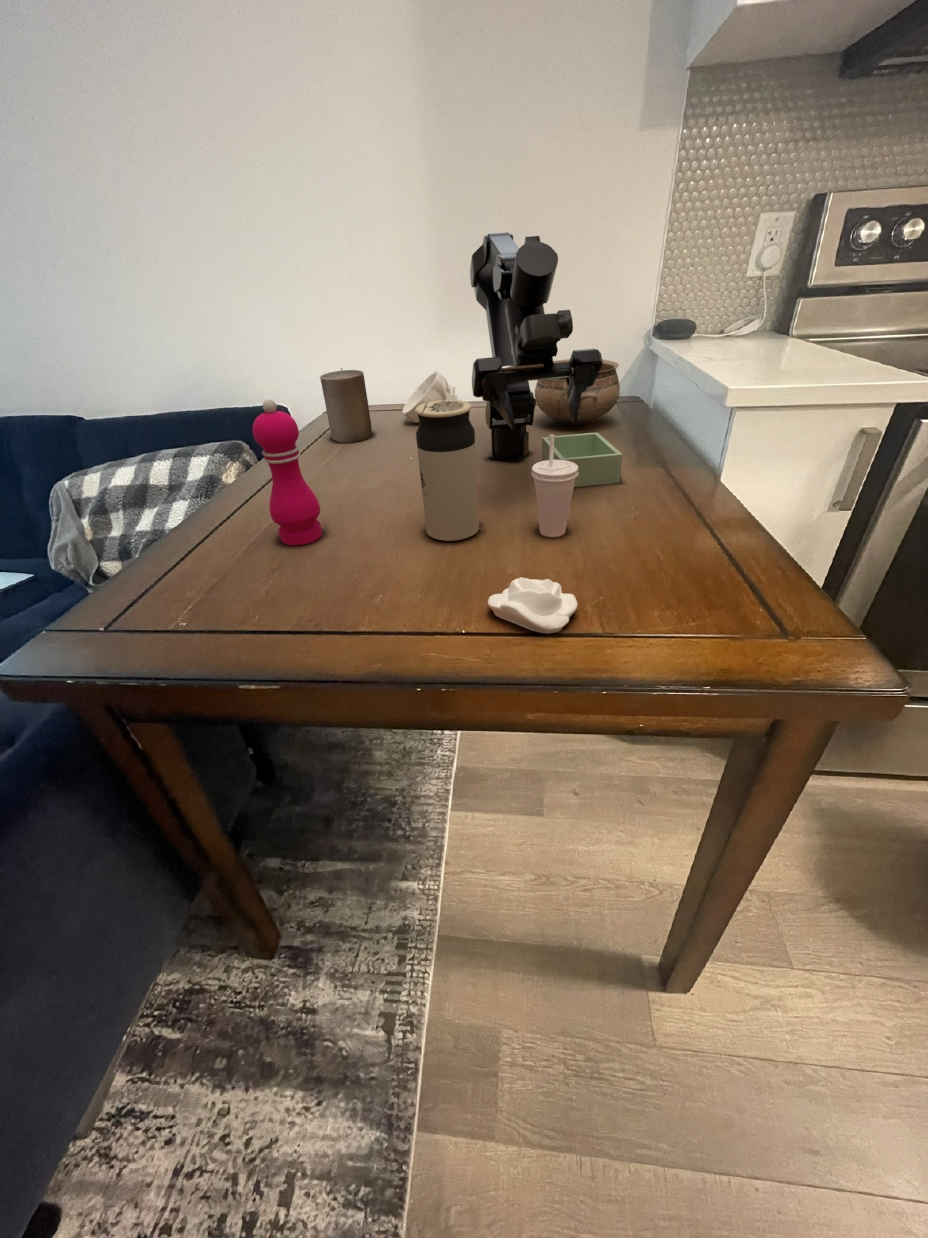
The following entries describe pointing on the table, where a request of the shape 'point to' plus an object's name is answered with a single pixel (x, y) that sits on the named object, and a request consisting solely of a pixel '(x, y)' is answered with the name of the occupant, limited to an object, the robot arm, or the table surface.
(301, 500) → the pepper mill
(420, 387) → the skull bowl
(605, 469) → the bin
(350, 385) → the pillar candle
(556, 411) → the cooking pot
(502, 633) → the table surface
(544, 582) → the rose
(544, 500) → the smoothie
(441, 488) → the travel mug
